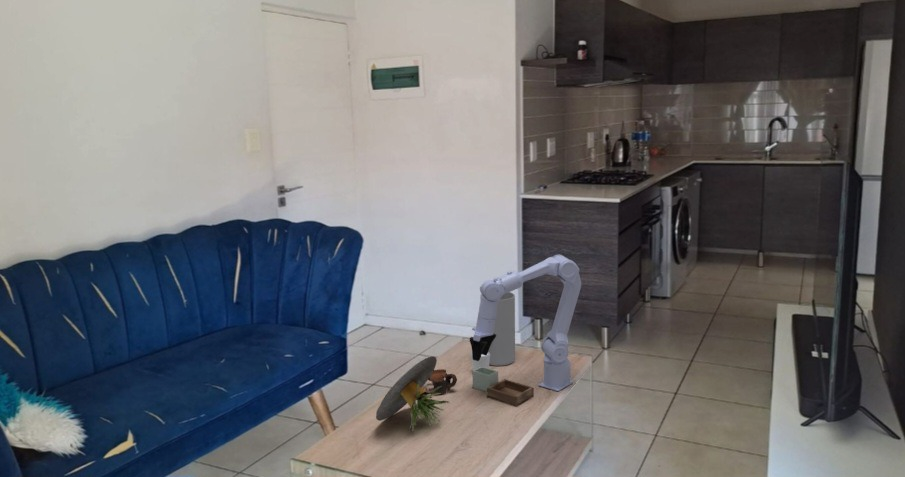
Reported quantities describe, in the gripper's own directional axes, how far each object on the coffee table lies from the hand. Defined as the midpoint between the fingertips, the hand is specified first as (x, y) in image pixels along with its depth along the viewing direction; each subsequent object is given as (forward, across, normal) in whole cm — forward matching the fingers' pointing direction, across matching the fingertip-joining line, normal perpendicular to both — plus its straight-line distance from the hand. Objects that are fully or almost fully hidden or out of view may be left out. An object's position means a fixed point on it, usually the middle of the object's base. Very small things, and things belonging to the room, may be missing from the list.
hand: (479, 357), depth 229 cm
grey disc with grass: (+17, +26, -9) cm, 32 cm away
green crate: (+12, -6, +2) cm, 14 cm away
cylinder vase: (+10, -32, -2) cm, 33 cm away
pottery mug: (+15, 0, -12) cm, 19 cm away
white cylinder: (+12, -19, -4) cm, 23 cm away
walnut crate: (+11, -2, +12) cm, 16 cm away
